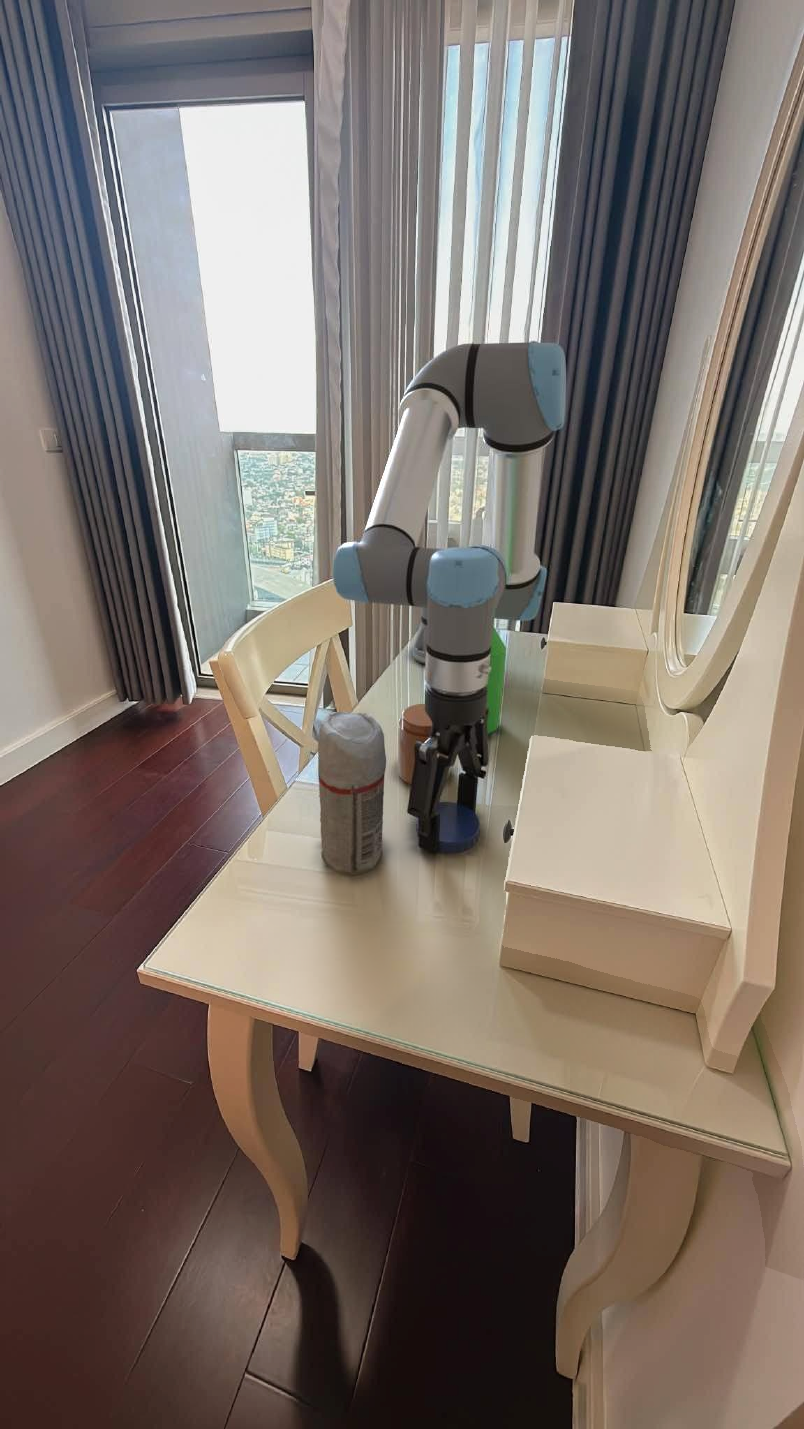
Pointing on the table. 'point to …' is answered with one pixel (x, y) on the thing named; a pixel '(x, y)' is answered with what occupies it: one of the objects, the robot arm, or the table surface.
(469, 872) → the table surface
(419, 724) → the jar
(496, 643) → the bottle
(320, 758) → the spray can
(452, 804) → the lid
